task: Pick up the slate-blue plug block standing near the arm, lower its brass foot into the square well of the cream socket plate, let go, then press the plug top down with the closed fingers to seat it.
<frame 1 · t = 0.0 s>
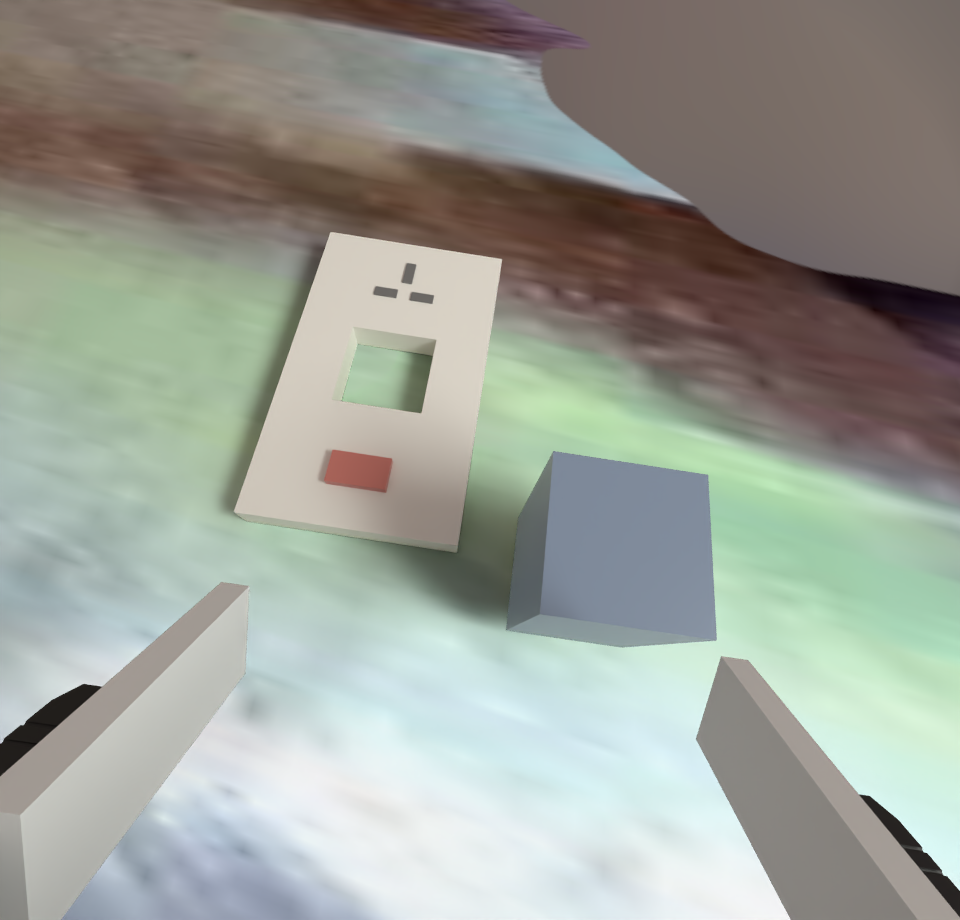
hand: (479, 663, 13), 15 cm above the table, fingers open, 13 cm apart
socket plate: (389, 384, 34), on the table
plug: (559, 584, 30), on the table
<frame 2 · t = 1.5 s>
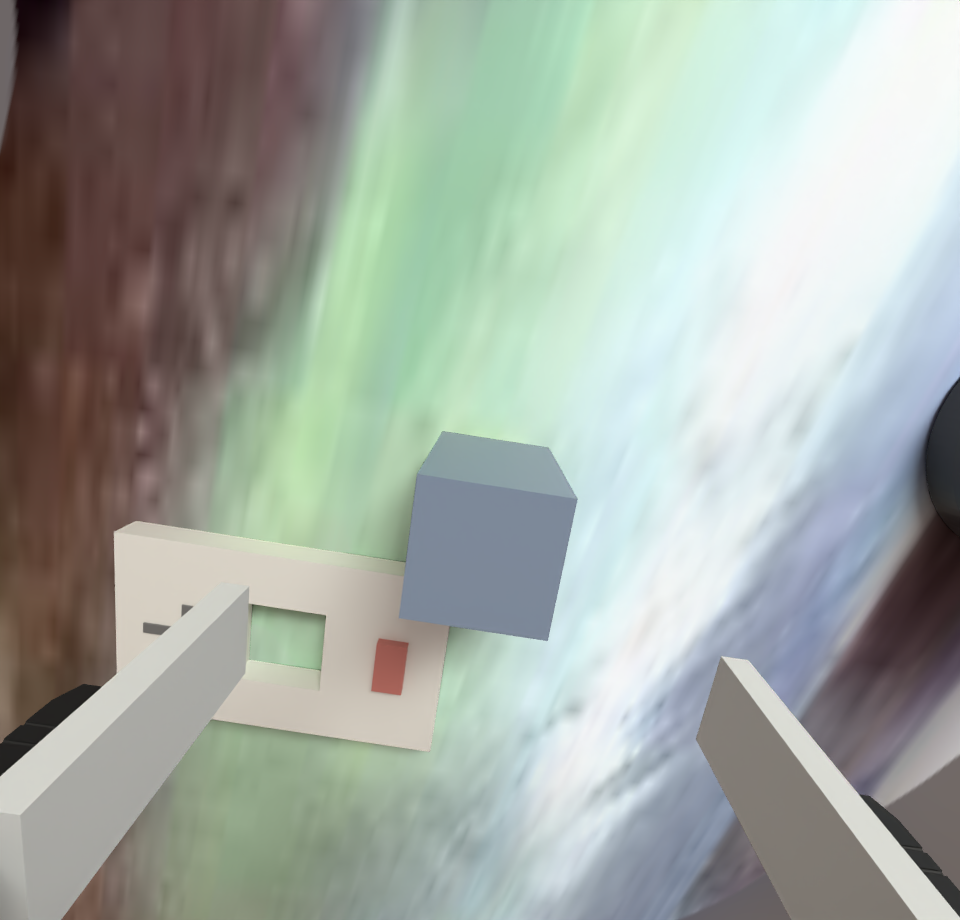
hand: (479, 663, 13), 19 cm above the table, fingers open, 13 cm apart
socket plate: (291, 630, 34), on the table
plug: (487, 481, 32), on the table
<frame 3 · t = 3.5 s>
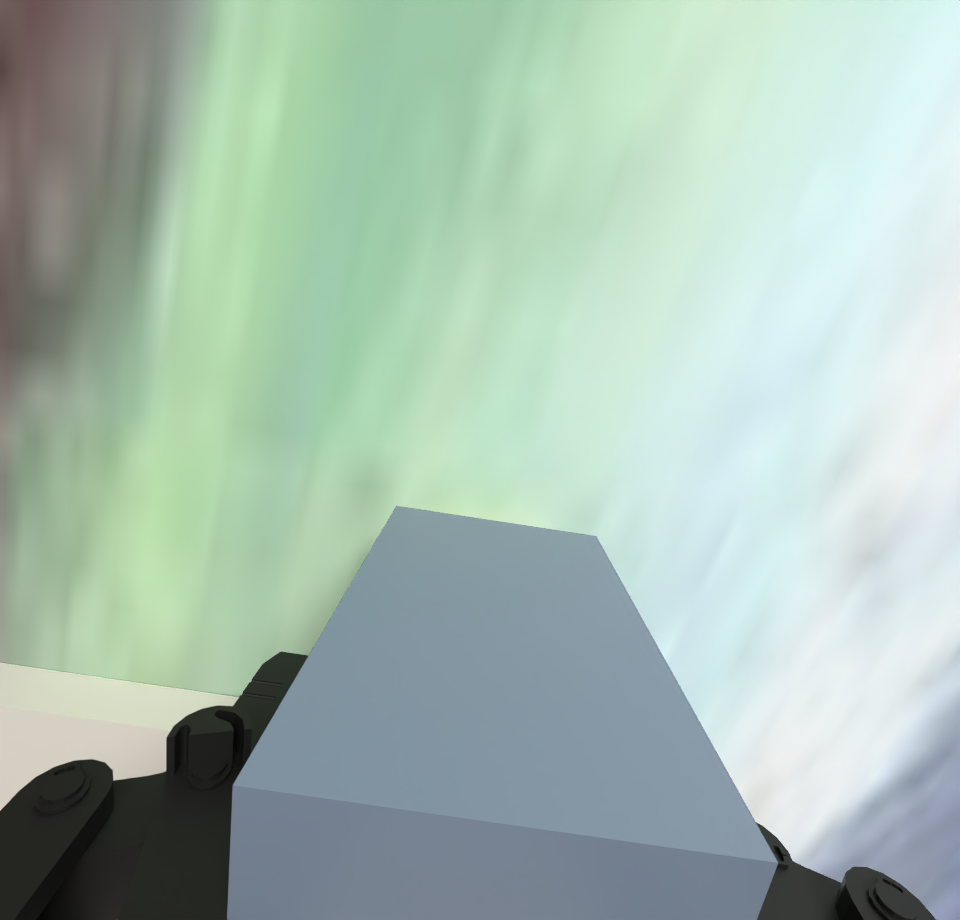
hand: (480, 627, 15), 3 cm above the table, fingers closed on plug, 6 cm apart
socket plate: (159, 815, 21), on the table
plug: (482, 582, 18), on the table, touching gripper
when the fingers open (4 cm above the table, at t = 8.0 s): plug stays where it is, resting on socket plate.
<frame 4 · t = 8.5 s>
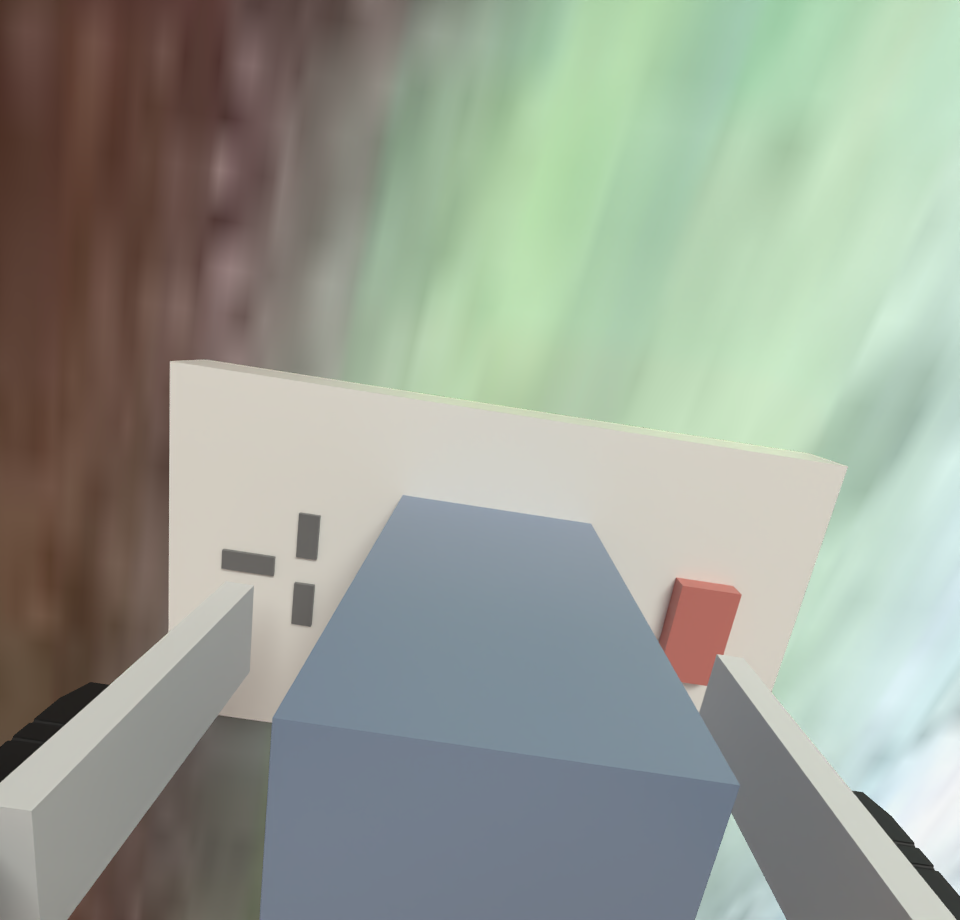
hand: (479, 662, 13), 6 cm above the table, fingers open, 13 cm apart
socket plate: (482, 570, 19), on the table
plug: (483, 569, 19), resting on socket plate
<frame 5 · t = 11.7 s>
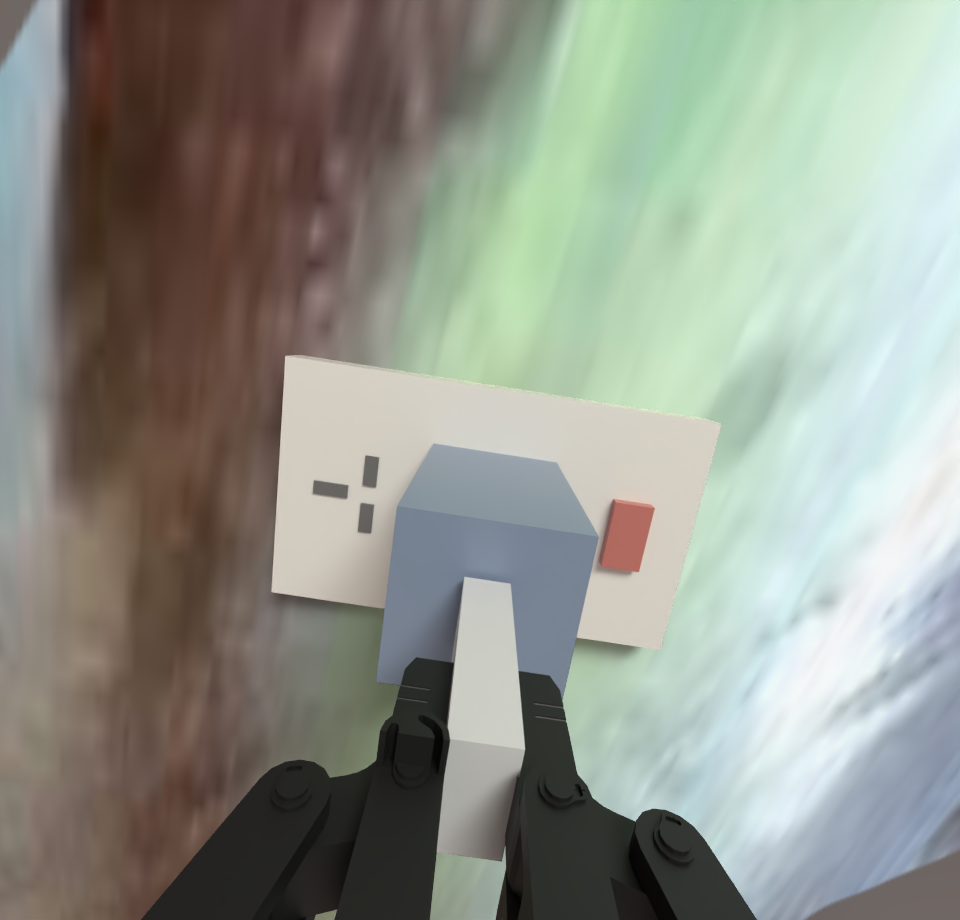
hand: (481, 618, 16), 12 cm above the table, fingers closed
socket plate: (485, 500, 28), on the table
plug: (485, 499, 28), resting on socket plate, touching gripper
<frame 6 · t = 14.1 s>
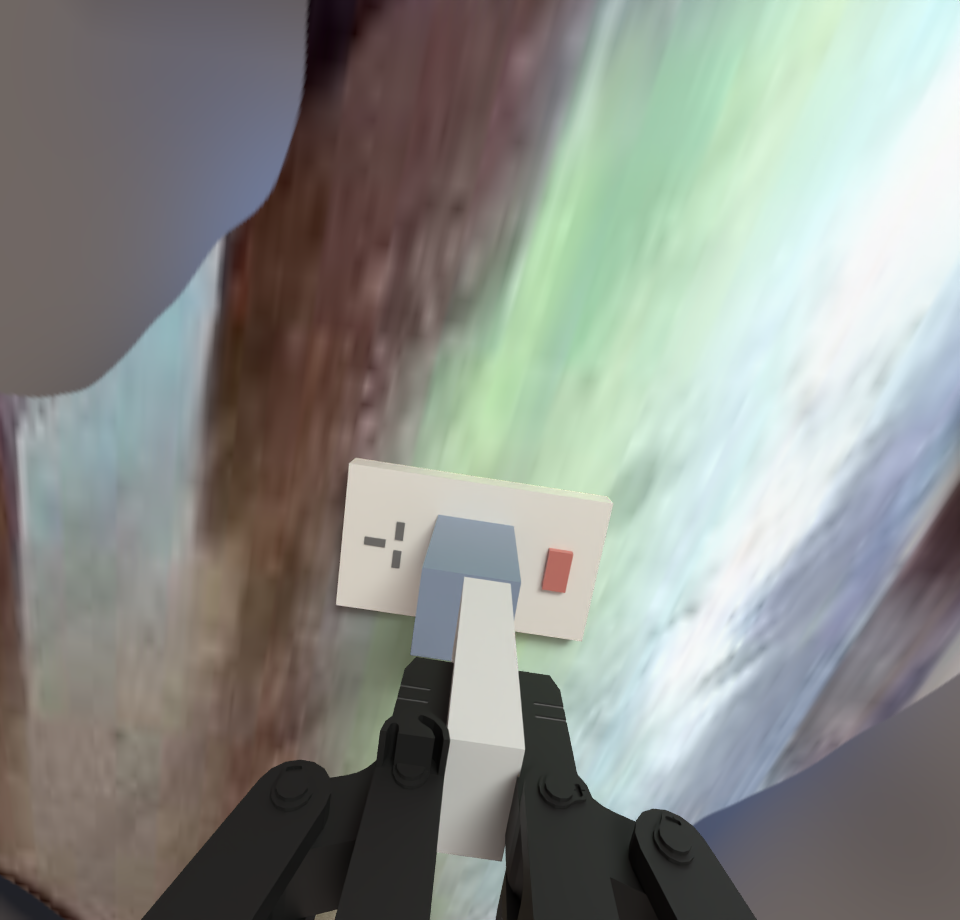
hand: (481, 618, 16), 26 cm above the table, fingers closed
socket plate: (471, 546, 43), on the table
plug: (471, 545, 43), resting on socket plate
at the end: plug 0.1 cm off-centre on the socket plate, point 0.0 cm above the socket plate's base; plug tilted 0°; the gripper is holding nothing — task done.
